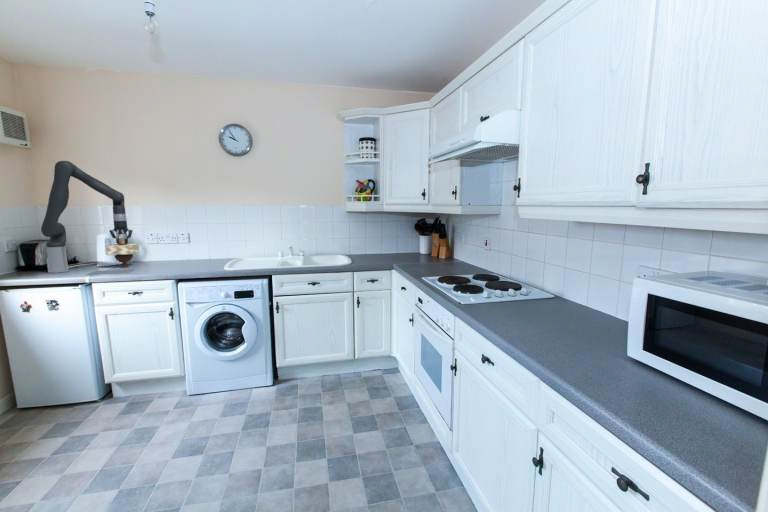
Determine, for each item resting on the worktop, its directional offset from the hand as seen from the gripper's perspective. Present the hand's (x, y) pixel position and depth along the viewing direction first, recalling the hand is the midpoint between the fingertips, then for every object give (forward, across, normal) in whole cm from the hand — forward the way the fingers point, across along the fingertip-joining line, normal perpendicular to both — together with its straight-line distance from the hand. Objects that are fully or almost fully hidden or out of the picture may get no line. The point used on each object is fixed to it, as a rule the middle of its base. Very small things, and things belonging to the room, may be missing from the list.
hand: (122, 243), depth 249 cm
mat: (+18, -1, -18) cm, 26 cm away
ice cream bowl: (+18, 0, 0) cm, 18 cm away
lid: (+7, 0, 0) cm, 7 cm away
